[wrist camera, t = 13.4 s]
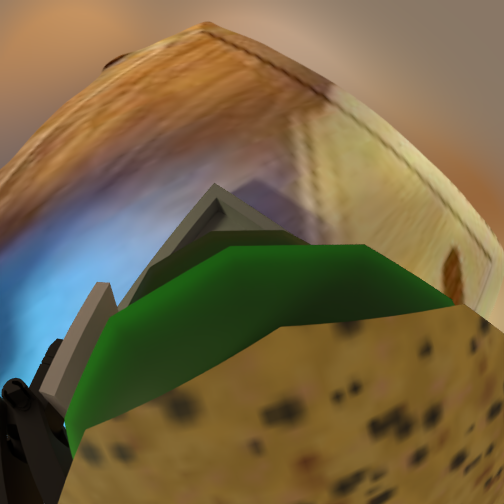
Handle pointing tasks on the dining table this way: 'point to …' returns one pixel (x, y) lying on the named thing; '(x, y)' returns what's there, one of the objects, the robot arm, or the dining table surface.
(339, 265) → the bottle
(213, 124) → the dining table surface
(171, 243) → the tray
